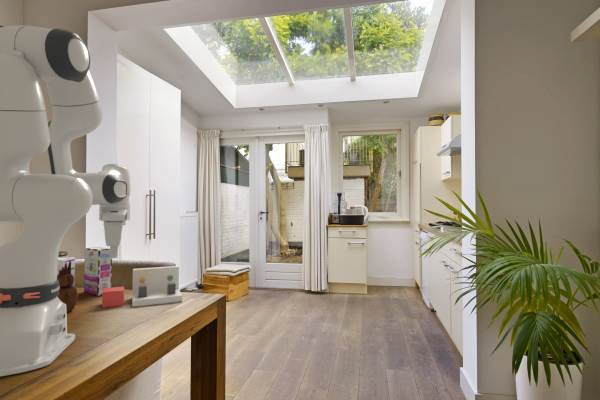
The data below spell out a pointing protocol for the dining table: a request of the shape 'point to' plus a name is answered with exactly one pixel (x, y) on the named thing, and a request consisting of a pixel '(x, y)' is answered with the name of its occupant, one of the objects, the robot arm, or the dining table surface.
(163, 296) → the breaker panel
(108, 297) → the cap
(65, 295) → the wooden figurine
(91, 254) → the candy bar box
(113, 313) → the dining table surface
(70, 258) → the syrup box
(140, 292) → the block
